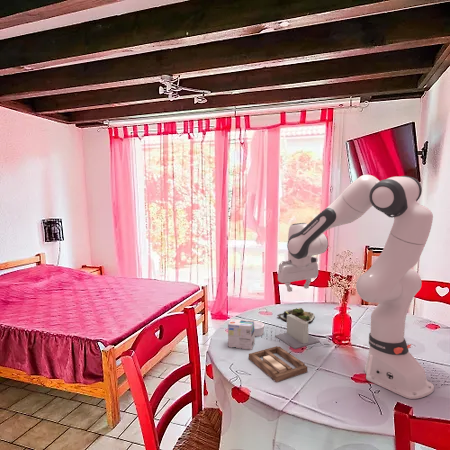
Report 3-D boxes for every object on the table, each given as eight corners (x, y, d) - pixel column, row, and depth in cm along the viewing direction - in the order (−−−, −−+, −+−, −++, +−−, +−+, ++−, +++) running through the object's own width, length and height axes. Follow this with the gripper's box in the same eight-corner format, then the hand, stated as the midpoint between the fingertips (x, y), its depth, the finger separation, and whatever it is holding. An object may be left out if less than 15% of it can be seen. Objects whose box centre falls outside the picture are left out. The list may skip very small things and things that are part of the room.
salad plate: (287, 308, 193) (287, 301, 192) (318, 314, 184) (319, 306, 183) (274, 320, 176) (274, 312, 175) (308, 327, 167) (308, 318, 167)
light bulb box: (255, 343, 150) (254, 319, 149) (252, 350, 143) (251, 325, 142) (231, 340, 153) (231, 317, 151) (227, 347, 146) (227, 323, 145)
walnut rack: (307, 371, 126) (307, 365, 126) (276, 382, 119) (276, 375, 119) (277, 350, 143) (277, 344, 142) (248, 358, 136) (248, 352, 136)
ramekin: (267, 331, 162) (267, 322, 162) (260, 338, 155) (260, 329, 154) (250, 328, 166) (250, 319, 166) (242, 335, 159) (242, 326, 158)
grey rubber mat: (319, 342, 150) (319, 340, 150) (294, 349, 144) (294, 347, 144) (299, 330, 162) (299, 329, 162) (275, 336, 156) (275, 335, 156)
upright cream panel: (308, 342, 148) (308, 322, 147) (303, 343, 147) (303, 323, 146) (290, 332, 159) (291, 313, 158) (286, 333, 158) (286, 314, 157)
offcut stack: (286, 376, 123) (286, 368, 123) (279, 378, 122) (279, 370, 122) (269, 363, 133) (269, 355, 133) (262, 364, 132) (262, 356, 131)
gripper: (283, 263, 142) (283, 295, 143) (320, 258, 151) (320, 288, 152) (274, 260, 147) (274, 291, 149) (311, 255, 157) (310, 284, 158)
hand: (298, 289), depth 151 cm, fingers open, 8 cm apart
